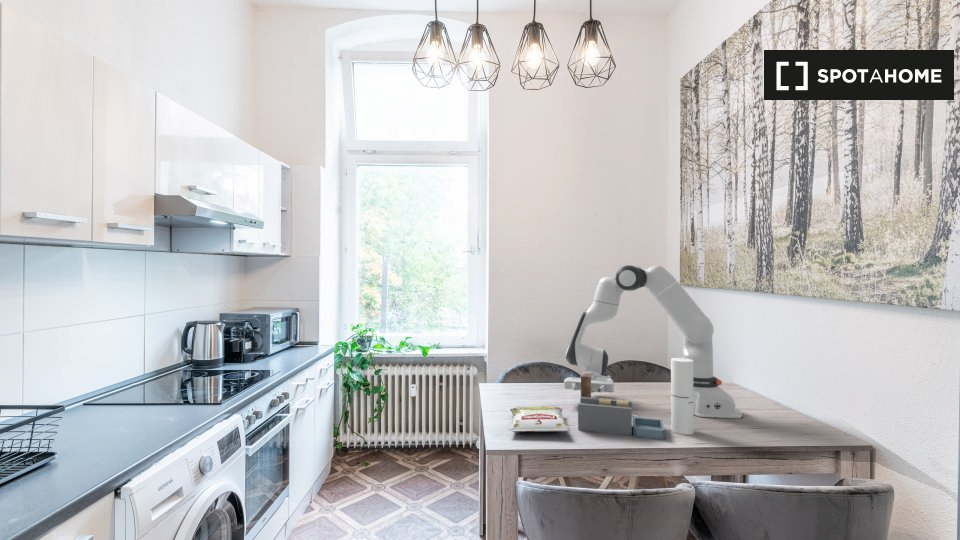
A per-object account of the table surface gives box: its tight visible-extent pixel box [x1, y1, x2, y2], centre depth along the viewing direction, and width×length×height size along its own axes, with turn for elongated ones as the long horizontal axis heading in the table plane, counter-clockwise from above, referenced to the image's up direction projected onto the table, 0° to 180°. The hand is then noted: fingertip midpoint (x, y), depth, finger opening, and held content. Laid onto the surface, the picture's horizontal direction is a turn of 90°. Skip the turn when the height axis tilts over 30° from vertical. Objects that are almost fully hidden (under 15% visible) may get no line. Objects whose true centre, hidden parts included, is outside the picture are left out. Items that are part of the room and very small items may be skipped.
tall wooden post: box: [580, 373, 592, 398], centre depth 172 cm, size 4×5×16 cm
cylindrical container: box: [670, 357, 695, 436], centre depth 156 cm, size 7×7×25 cm
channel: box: [577, 396, 633, 436], centre depth 160 cm, size 18×10×9 cm, turn 72°
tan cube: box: [599, 397, 611, 406], centre depth 160 cm, size 4×4×4 cm
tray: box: [632, 416, 666, 441], centre depth 155 cm, size 10×12×3 cm
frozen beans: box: [509, 406, 571, 433], centre depth 161 cm, size 21×6×25 cm
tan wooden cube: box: [616, 399, 629, 407], centre depth 158 cm, size 4×4×4 cm
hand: (587, 389), depth 179 cm, fingers open, 8 cm apart
